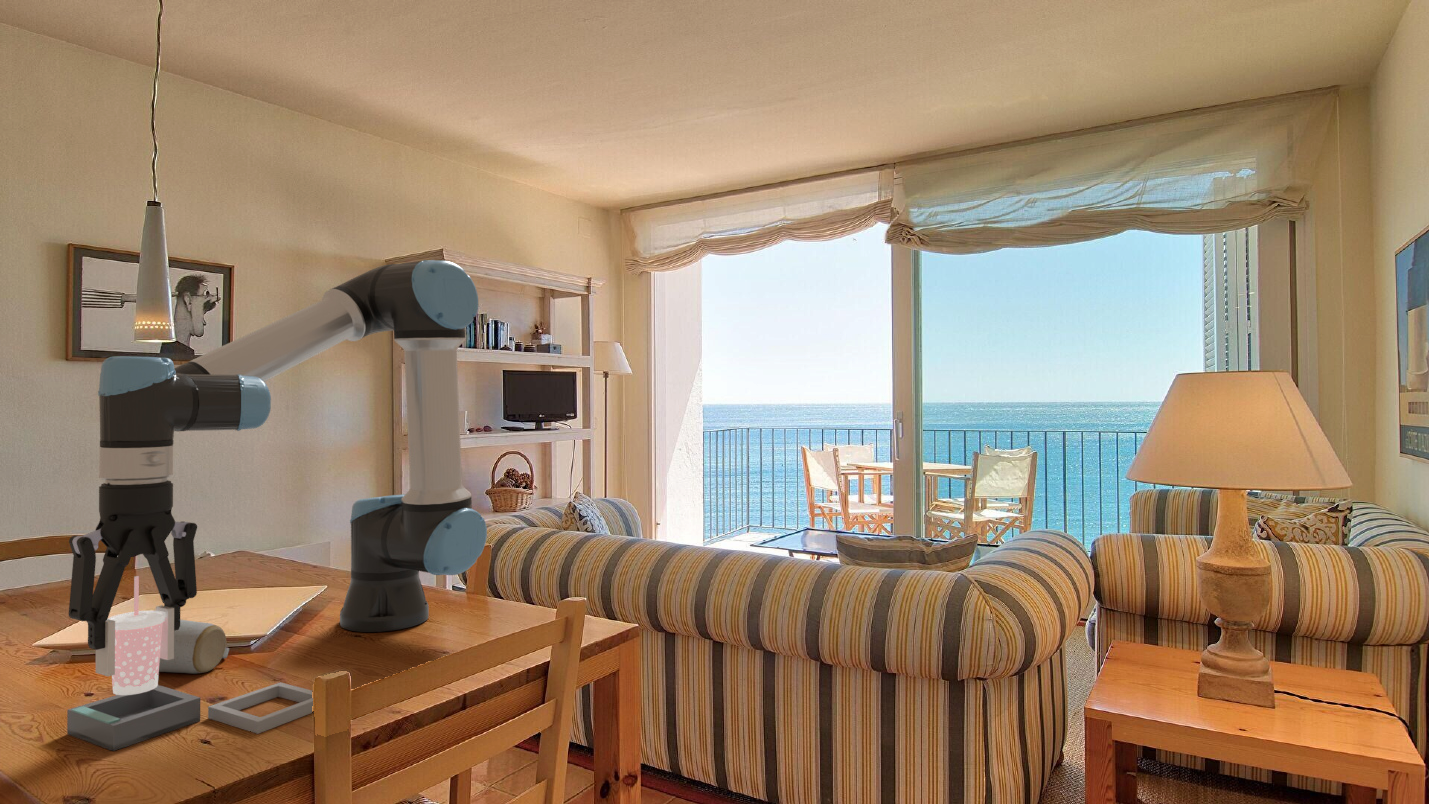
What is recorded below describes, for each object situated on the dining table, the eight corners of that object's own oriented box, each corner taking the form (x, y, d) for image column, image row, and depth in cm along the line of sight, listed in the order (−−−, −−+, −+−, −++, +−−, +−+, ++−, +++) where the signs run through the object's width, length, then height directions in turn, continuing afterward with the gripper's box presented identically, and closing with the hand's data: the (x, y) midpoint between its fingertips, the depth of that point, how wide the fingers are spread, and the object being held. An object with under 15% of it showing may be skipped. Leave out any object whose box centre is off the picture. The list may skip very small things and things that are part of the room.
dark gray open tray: (154, 706, 108) (154, 682, 108) (200, 720, 103) (200, 695, 103) (67, 734, 99) (67, 708, 99) (113, 751, 95) (113, 724, 94)
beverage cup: (112, 683, 103) (113, 573, 103) (169, 677, 105) (170, 569, 105) (98, 700, 97) (99, 583, 97) (159, 693, 100) (160, 579, 100)
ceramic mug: (196, 680, 118) (197, 627, 118) (142, 678, 118) (143, 625, 118) (243, 658, 128) (244, 609, 128) (194, 656, 129) (195, 608, 129)
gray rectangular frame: (280, 692, 113) (280, 682, 113) (328, 706, 109) (328, 695, 109) (208, 718, 104) (208, 706, 104) (257, 733, 100) (257, 721, 100)
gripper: (63, 490, 91) (62, 695, 91) (231, 475, 108) (229, 649, 108) (29, 485, 94) (28, 684, 94) (196, 472, 111) (195, 640, 111)
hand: (135, 665), depth 101 cm, fingers closed on beverage cup, 6 cm apart
